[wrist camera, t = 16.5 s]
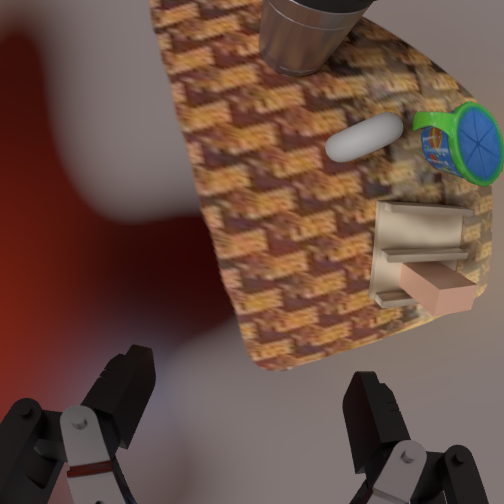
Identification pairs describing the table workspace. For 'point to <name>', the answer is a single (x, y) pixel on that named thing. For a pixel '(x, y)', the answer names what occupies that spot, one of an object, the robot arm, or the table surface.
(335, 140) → the grey ring
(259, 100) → the table surface
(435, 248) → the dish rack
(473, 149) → the snack cup
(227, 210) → the table surface
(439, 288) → the pink rectangular block
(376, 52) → the table surface
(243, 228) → the table surface
